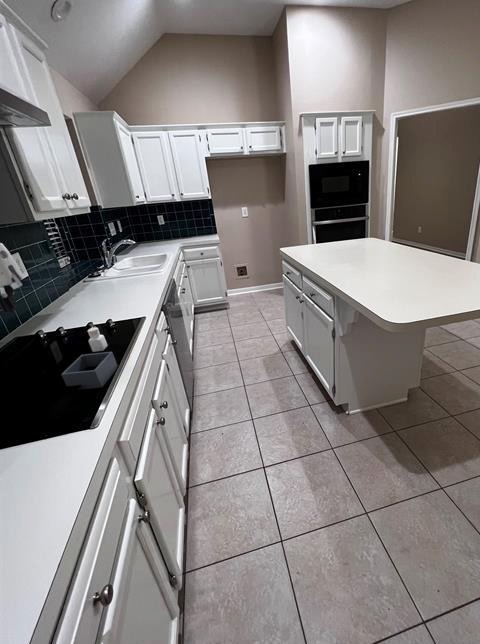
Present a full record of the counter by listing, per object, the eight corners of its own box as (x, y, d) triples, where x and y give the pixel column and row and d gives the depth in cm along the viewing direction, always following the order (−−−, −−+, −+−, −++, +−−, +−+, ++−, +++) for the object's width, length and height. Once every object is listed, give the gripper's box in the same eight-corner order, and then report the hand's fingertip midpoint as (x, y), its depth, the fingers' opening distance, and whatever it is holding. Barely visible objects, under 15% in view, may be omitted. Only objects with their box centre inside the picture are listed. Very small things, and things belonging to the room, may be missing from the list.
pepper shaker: (109, 349, 117) (100, 326, 113) (104, 354, 113) (95, 331, 109) (98, 350, 117) (89, 327, 113) (93, 355, 113) (83, 332, 109)
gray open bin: (61, 374, 92) (95, 371, 92) (81, 354, 102) (112, 351, 102) (69, 390, 95) (102, 387, 95) (88, 370, 105) (118, 366, 105)
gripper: (18, 234, 79) (48, 302, 87) (-41, 240, 79) (-6, 307, 87) (-5, 240, 72) (30, 313, 80) (-71, 247, 72) (-29, 319, 80)
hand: (11, 310), depth 84 cm, fingers closed
